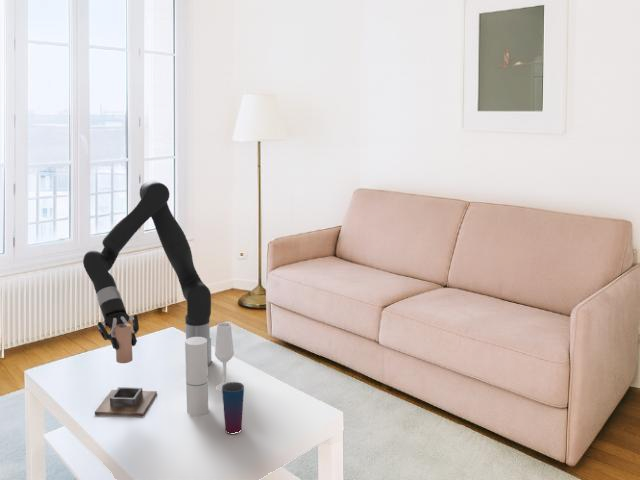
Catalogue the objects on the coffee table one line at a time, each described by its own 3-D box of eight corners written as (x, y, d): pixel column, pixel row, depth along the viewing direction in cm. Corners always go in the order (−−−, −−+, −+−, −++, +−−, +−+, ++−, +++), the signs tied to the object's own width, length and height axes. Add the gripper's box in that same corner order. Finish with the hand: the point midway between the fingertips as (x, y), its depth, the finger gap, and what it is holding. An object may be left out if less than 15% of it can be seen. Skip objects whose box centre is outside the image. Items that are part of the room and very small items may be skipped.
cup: (223, 425, 203) (222, 382, 200) (244, 424, 204) (244, 381, 200) (221, 436, 197) (221, 392, 193) (243, 435, 197) (243, 391, 194)
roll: (134, 357, 215) (133, 323, 212) (129, 363, 210) (128, 329, 207) (119, 356, 215) (117, 322, 212) (114, 363, 210) (112, 328, 207)
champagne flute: (216, 383, 233) (215, 321, 227) (234, 382, 233) (233, 321, 228) (215, 391, 226) (214, 328, 221) (233, 391, 227) (233, 328, 221)
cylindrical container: (211, 406, 215) (209, 337, 210) (205, 416, 208) (203, 345, 203) (190, 404, 216) (188, 336, 210) (184, 415, 209) (182, 344, 204)
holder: (156, 393, 223) (156, 383, 222) (143, 416, 208) (142, 405, 207) (111, 392, 224) (111, 381, 223) (94, 414, 208) (94, 403, 207)
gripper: (92, 301, 209) (107, 346, 203) (133, 293, 218) (149, 337, 211) (87, 312, 214) (102, 356, 208) (128, 304, 223) (143, 347, 217)
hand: (126, 346), depth 210 cm, fingers closed on roll, 5 cm apart
